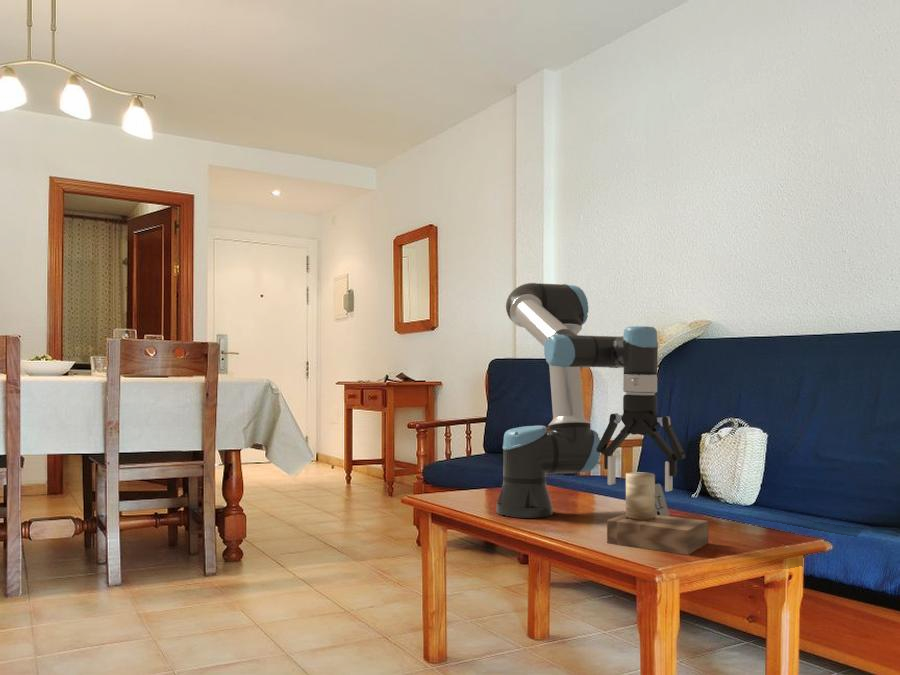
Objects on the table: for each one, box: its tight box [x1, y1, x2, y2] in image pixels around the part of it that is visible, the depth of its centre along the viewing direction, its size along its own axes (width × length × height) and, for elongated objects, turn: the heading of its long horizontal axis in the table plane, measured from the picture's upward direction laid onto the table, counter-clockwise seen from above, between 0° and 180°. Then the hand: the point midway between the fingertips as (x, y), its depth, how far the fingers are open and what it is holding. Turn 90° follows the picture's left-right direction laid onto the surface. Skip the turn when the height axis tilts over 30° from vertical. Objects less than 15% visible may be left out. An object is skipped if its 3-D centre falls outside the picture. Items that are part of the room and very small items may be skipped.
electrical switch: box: [655, 483, 670, 516], centre depth 193 cm, size 9×5×9 cm, turn 141°
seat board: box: [606, 513, 709, 556], centre depth 165 cm, size 18×14×5 cm
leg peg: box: [625, 471, 656, 522], centre depth 167 cm, size 6×6×14 cm
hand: (639, 487), depth 168 cm, fingers open, 13 cm apart
